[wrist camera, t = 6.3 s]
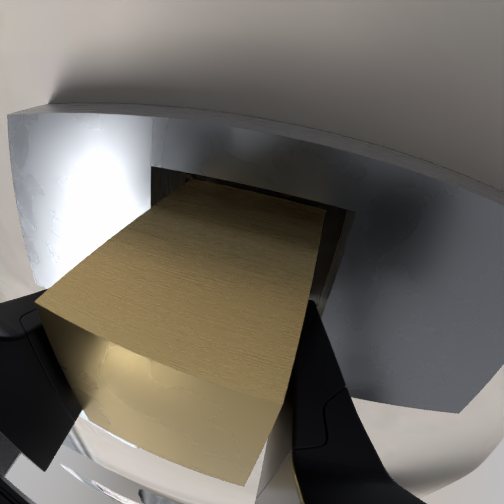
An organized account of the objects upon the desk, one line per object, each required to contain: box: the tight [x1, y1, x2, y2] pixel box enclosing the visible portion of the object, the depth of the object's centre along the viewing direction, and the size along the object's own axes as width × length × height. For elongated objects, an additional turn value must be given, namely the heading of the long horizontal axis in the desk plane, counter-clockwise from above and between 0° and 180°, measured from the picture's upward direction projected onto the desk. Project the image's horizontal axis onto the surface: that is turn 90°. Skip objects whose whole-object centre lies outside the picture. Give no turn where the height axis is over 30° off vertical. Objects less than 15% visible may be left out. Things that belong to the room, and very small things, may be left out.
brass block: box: [34, 179, 326, 487], centre depth 8 cm, size 4×4×7 cm
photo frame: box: [91, 480, 134, 504], centre depth 73 cm, size 15×1×18 cm
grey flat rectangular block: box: [7, 103, 504, 413], centre depth 11 cm, size 22×9×2 cm, turn 82°
